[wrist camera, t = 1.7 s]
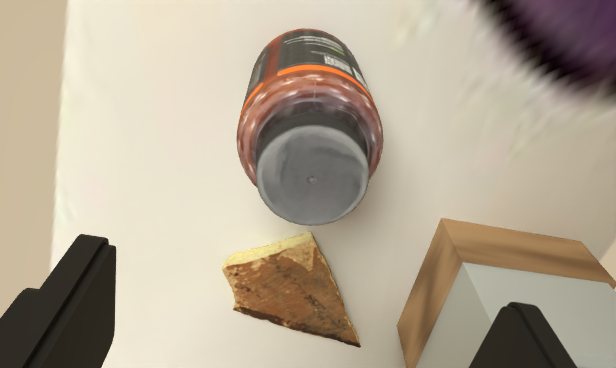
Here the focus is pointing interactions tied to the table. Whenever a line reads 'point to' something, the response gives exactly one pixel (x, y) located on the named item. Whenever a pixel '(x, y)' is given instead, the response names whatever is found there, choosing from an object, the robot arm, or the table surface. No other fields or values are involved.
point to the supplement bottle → (309, 128)
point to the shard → (290, 288)
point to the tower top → (531, 290)
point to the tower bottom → (490, 252)
